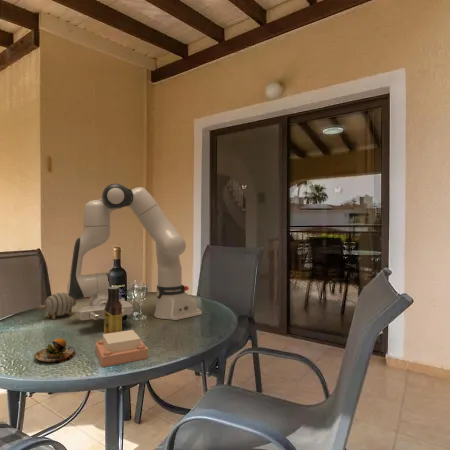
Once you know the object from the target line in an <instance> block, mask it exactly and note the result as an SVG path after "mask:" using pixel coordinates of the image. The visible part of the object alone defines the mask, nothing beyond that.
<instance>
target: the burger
mask: <svg viewBox="0 0 450 450" xmlns="http://www.w3.org/2000/svg"><path fill="white" fill-rule="evenodd" d="M62 335H64V332H63V333H62ZM75 355H76V348H74V347H73V346H70V345H67V341H66V339H63V337H61V338H55V339H53V340H52V345H51V344H50V343H48V345H47V347H46V348H44V349H41V350H39V351H37V352H35V354H34V356H33V357H34V359H36V360H38V361H40V362H46V363H47V362H48V363H49V362H50V363H51V362H59V364H61V363H65V362H67V359H68V358H69V359H70V360H72V359H73V358H74V357H75Z"/></svg>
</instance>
